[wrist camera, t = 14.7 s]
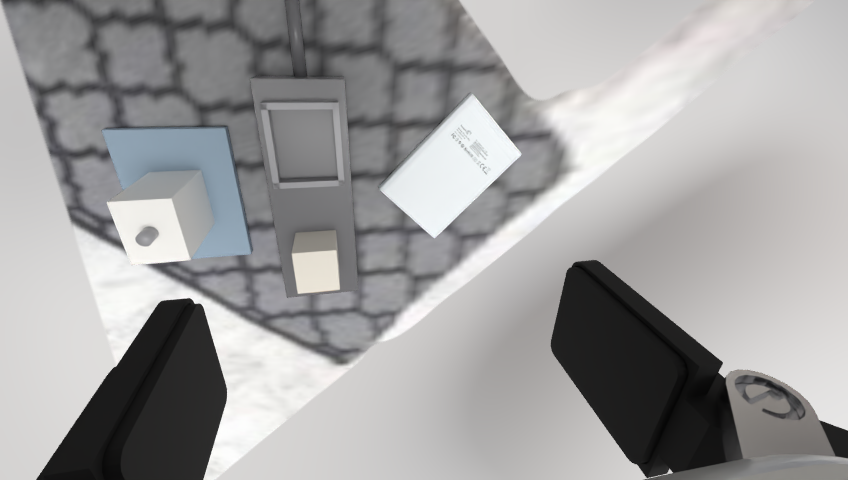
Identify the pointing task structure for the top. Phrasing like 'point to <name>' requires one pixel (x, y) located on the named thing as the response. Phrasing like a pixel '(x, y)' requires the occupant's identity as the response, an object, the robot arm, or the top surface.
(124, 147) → the mat
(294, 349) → the top surface
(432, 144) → the external hard drive
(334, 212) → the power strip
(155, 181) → the block
